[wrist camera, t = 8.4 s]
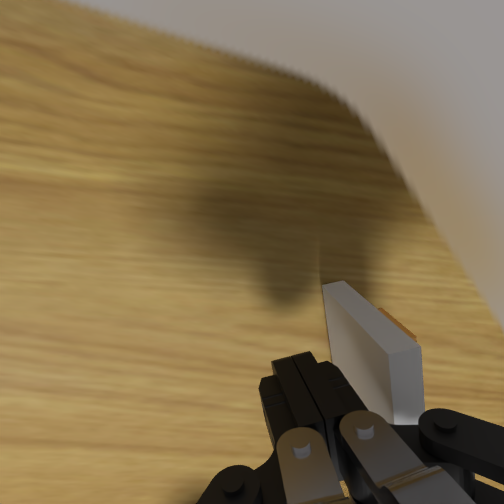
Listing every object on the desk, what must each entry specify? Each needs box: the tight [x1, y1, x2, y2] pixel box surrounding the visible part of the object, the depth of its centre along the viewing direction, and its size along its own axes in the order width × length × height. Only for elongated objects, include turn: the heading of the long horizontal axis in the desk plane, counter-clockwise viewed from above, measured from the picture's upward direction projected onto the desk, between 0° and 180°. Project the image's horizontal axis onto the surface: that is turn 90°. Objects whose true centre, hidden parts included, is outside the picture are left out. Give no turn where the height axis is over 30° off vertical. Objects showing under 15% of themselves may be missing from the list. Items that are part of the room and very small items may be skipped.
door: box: [322, 280, 425, 425], centre depth 16 cm, size 18×2×6 cm, turn 11°
